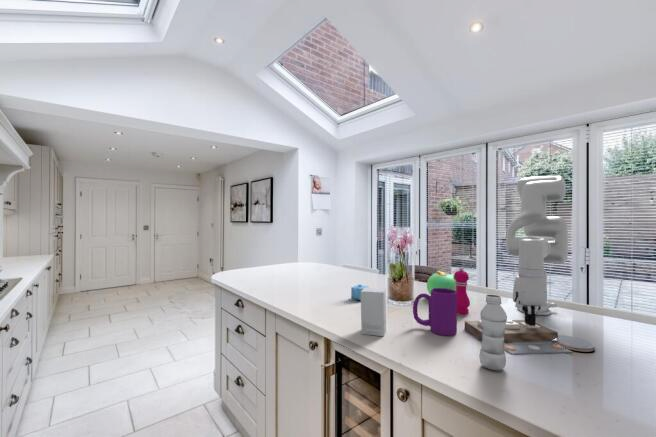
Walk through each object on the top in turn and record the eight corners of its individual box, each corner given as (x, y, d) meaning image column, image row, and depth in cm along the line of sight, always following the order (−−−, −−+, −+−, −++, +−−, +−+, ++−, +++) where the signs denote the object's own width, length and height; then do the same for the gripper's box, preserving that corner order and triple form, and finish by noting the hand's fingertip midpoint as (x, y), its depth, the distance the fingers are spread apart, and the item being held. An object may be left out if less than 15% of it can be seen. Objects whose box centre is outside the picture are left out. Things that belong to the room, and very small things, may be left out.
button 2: (531, 330, 114) (531, 321, 114) (540, 335, 110) (540, 326, 110) (519, 330, 114) (520, 322, 114) (528, 335, 109) (528, 326, 109)
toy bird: (424, 295, 167) (424, 267, 167) (456, 296, 164) (457, 268, 164) (430, 304, 149) (430, 273, 149) (467, 306, 146) (467, 275, 146)
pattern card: (554, 343, 103) (554, 341, 103) (572, 352, 96) (572, 350, 96) (497, 345, 102) (497, 343, 102) (511, 354, 95) (511, 352, 95)
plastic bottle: (474, 362, 89) (475, 293, 89) (496, 362, 90) (497, 293, 90) (487, 374, 83) (488, 299, 83) (511, 373, 83) (512, 298, 83)
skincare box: (386, 331, 114) (387, 288, 113) (383, 337, 107) (384, 292, 107) (364, 328, 116) (364, 286, 116) (360, 334, 110) (360, 290, 110)
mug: (455, 338, 107) (456, 295, 107) (410, 330, 114) (410, 289, 114) (457, 329, 115) (458, 289, 115) (415, 323, 122) (415, 285, 122)
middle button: (510, 328, 113) (510, 319, 113) (519, 332, 109) (519, 323, 109) (499, 328, 113) (499, 319, 113) (507, 332, 108) (507, 323, 108)
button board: (529, 327, 118) (529, 319, 118) (557, 341, 106) (557, 332, 106) (464, 328, 116) (464, 320, 116) (484, 343, 103) (485, 334, 103)
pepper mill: (466, 310, 140) (467, 266, 140) (472, 315, 132) (472, 268, 132) (449, 309, 140) (450, 265, 140) (454, 314, 133) (455, 268, 133)
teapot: (358, 303, 149) (359, 288, 149) (347, 301, 152) (348, 286, 152) (369, 298, 159) (369, 283, 159) (359, 296, 163) (359, 282, 162)
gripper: (542, 271, 116) (541, 320, 116) (504, 271, 114) (503, 321, 114) (558, 275, 108) (558, 327, 108) (518, 275, 107) (517, 328, 107)
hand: (530, 324), depth 111 cm, fingers closed
